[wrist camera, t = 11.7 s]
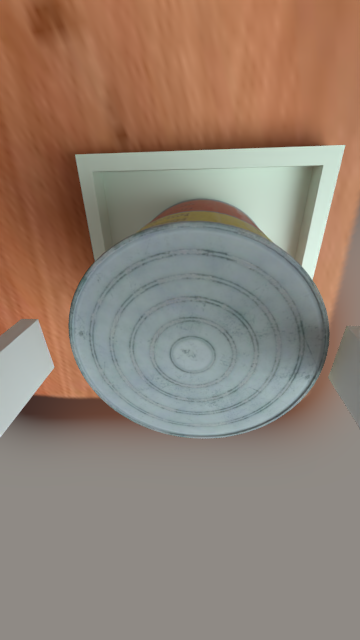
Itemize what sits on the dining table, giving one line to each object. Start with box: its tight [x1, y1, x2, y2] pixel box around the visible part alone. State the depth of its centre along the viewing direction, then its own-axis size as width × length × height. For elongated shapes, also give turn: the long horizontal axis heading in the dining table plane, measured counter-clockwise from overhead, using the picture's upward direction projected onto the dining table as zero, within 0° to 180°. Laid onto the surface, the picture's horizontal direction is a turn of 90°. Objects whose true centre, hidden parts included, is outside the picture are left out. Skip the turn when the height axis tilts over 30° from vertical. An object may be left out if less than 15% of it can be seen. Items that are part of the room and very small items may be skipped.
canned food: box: [69, 198, 329, 438], centre depth 16 cm, size 11×11×12 cm
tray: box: [75, 145, 345, 280], centre depth 21 cm, size 17×17×2 cm
